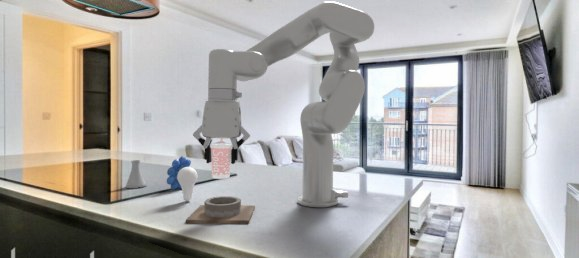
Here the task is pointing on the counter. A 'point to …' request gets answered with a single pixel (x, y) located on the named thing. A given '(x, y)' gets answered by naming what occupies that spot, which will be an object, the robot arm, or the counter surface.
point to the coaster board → (222, 211)
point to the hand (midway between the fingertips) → (221, 162)
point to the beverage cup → (221, 160)
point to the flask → (135, 176)
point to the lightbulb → (187, 181)
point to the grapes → (176, 171)
